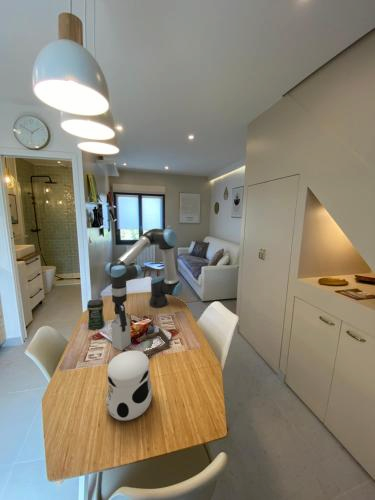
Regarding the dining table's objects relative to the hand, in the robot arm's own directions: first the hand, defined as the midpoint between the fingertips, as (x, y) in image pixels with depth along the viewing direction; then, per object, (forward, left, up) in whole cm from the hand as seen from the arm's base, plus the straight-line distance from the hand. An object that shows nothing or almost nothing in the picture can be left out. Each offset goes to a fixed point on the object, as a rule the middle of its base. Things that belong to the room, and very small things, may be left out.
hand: (120, 330), depth 114 cm
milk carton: (0, 0, -10) cm, 10 cm away
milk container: (+5, +38, -10) cm, 40 cm away
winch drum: (-19, -4, -10) cm, 22 cm away
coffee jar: (+10, -28, -10) cm, 31 cm away
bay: (-15, +8, -10) cm, 20 cm away
